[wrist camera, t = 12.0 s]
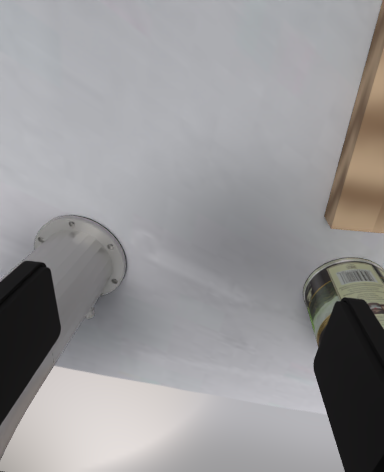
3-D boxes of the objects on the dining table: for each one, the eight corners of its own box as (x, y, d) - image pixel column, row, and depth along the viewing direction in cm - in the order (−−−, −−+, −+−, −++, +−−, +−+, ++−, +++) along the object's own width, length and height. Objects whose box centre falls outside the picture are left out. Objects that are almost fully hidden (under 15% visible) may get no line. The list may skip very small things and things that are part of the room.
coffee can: (325, 331, 41) (360, 439, 29) (288, 279, 38) (310, 377, 26) (404, 302, 37) (483, 414, 25) (370, 242, 34) (442, 337, 22)
